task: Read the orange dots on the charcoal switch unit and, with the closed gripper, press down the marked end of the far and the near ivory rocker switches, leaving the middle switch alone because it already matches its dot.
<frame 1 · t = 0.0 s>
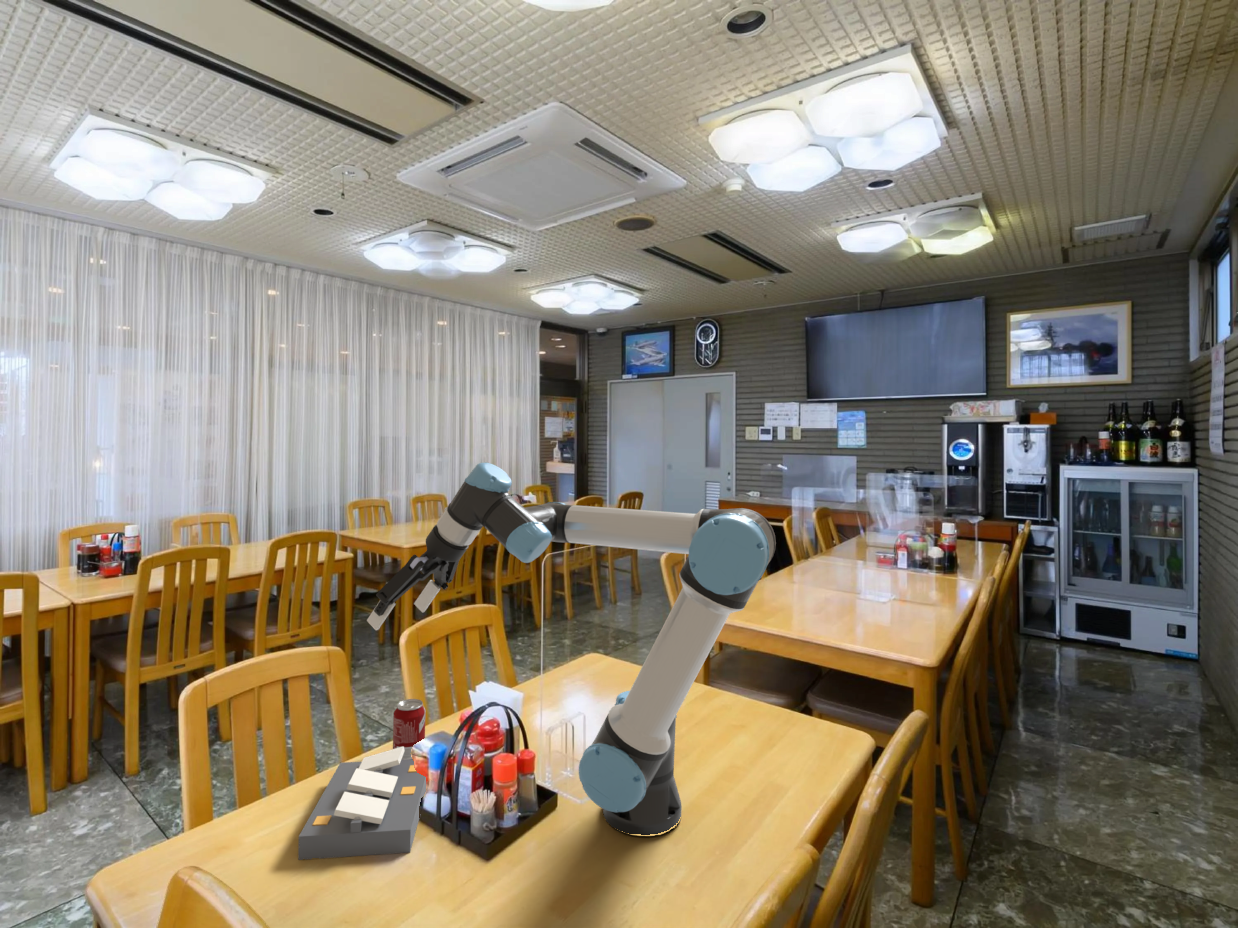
hand: (396, 616, 122), 36 cm above the table, tool tilted 35°, fingers open, 13 cm apart
middle switch: (372, 784, 117), point 6 cm above the table, hinge at -15.0°
far switch: (381, 762, 124), point 6 cm above the table, hinge at 15.0°
soda can: (408, 757, 138), on the table
switch unit: (371, 813, 117), on the table
near switch: (361, 809, 109), point 6 cm above the table, hinge at -15.0°
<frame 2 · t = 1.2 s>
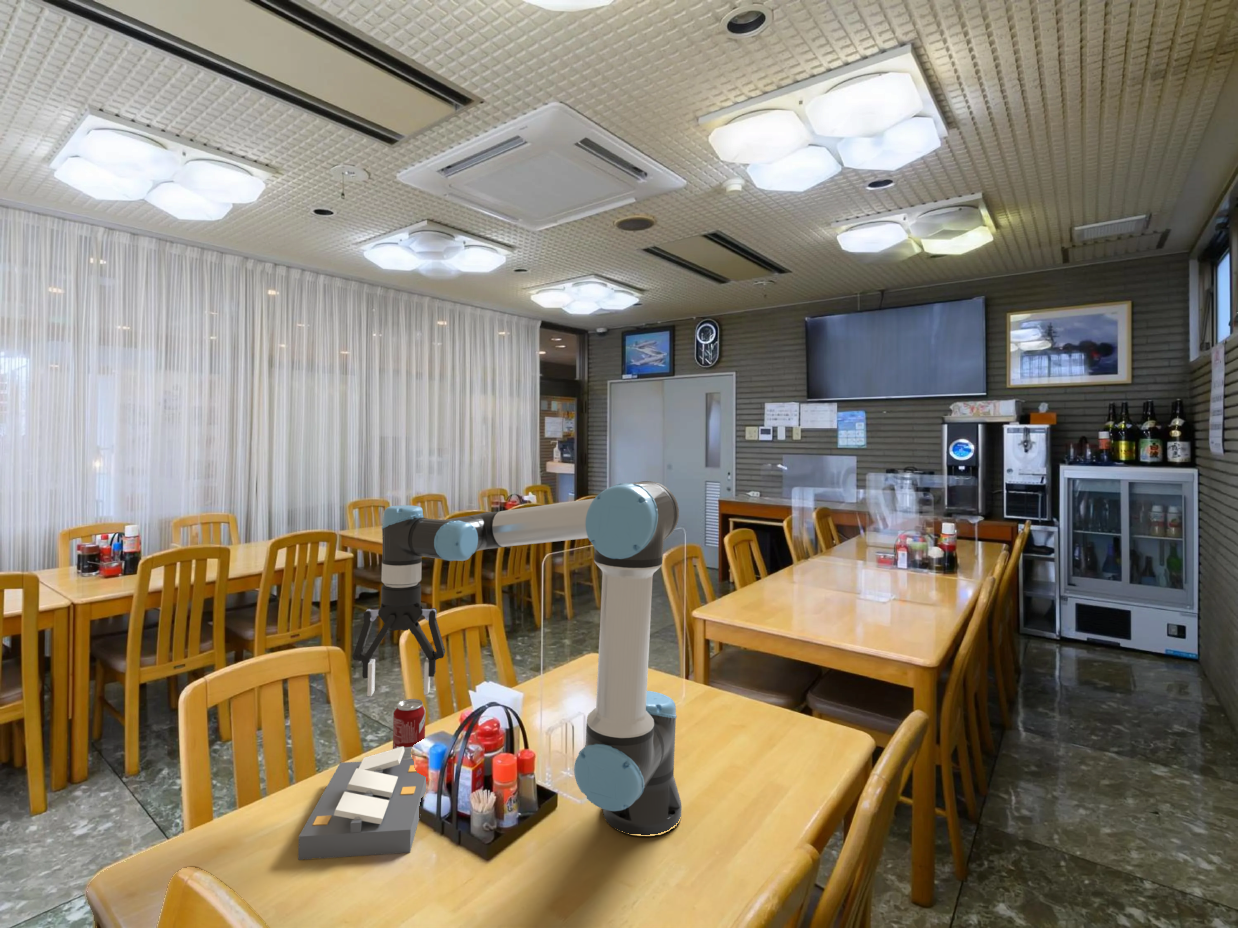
hand: (399, 692, 124), 20 cm above the table, tool pointing down, fingers open, 10 cm apart
nothing on the table moved.
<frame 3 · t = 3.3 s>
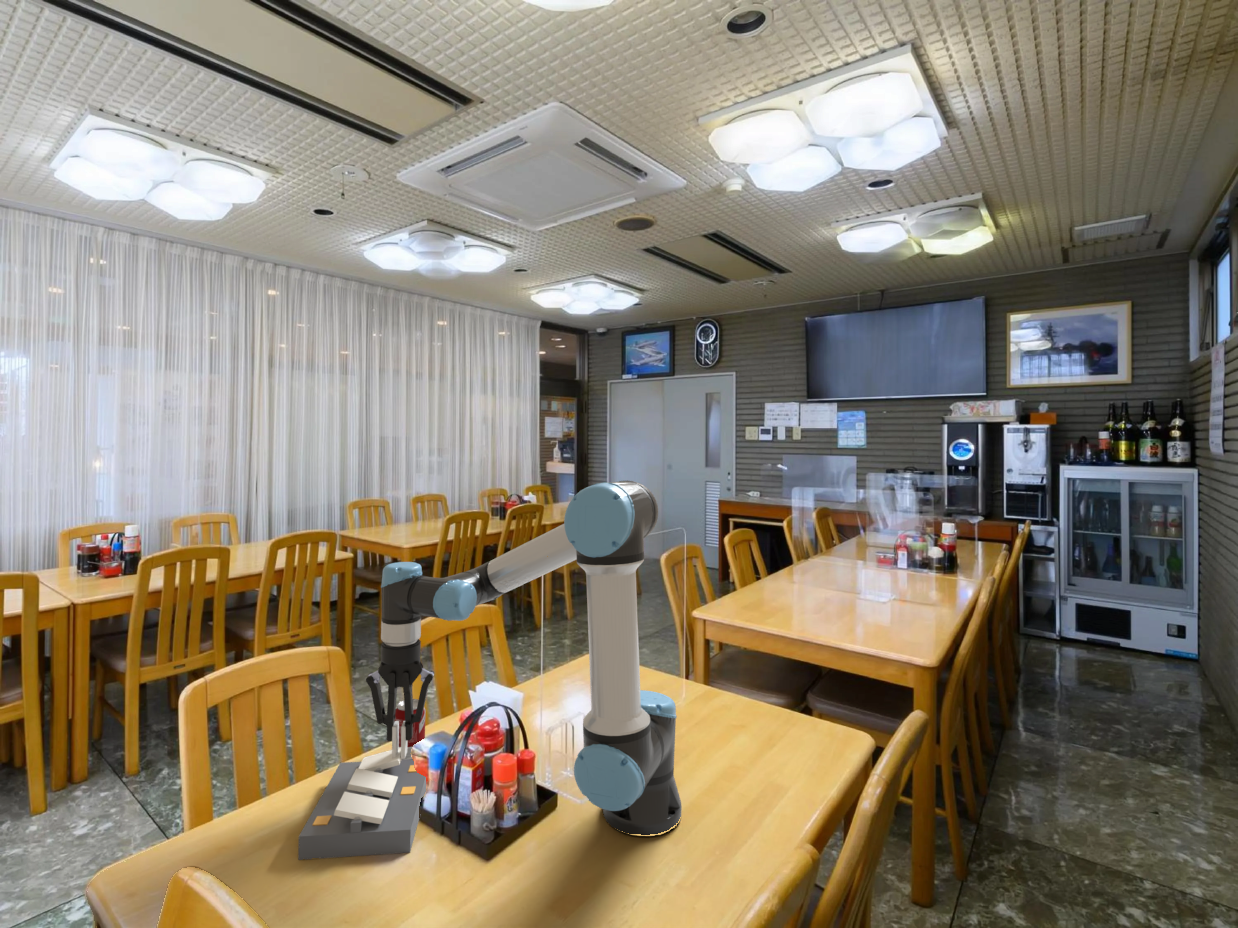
hand: (399, 755, 125), 7 cm above the table, tool pointing down, fingers closed, pressing on far switch
far switch: (381, 762, 124), point 6 cm above the table, hinge at 13.9°, touching gripper
everything else where it was.
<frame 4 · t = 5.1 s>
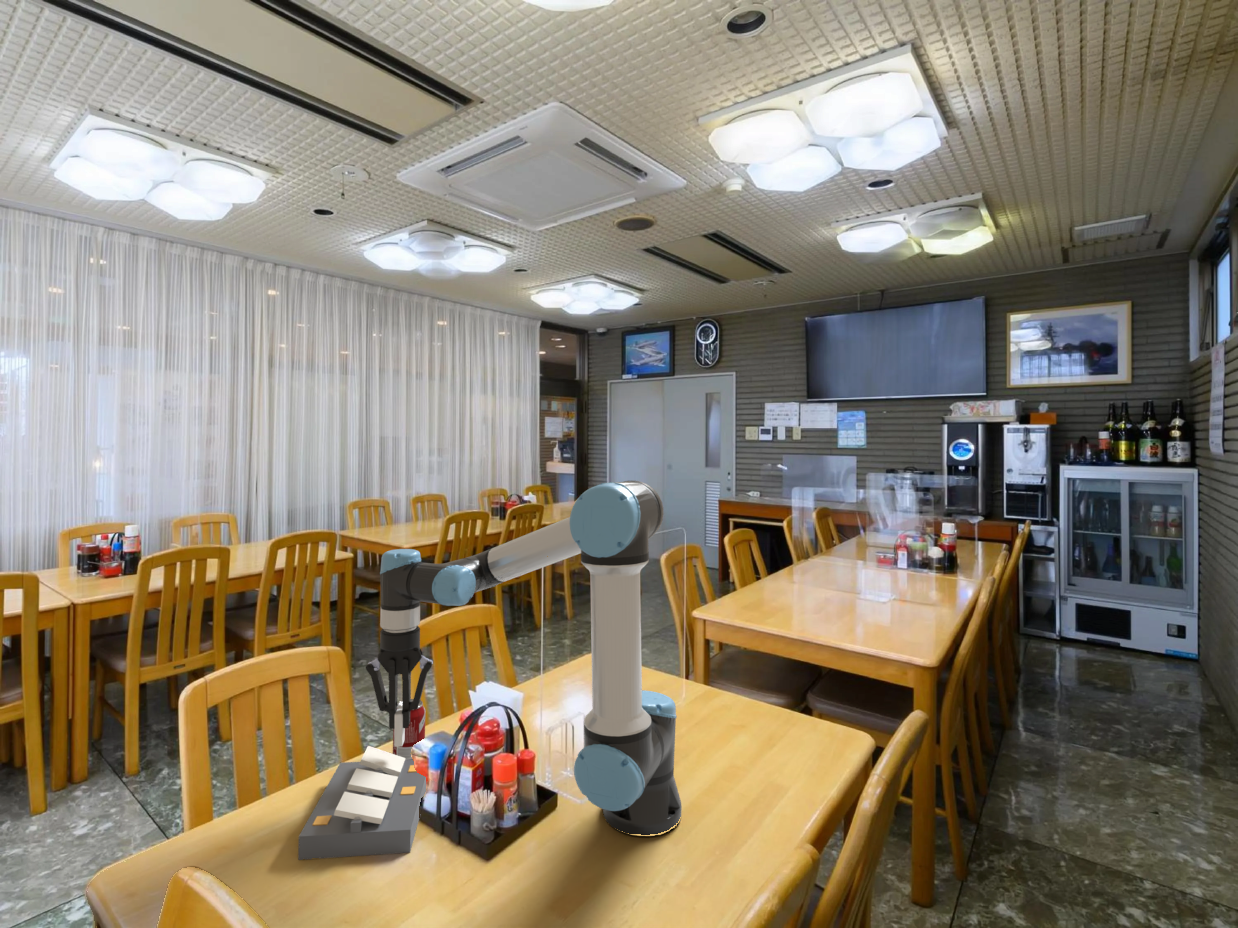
hand: (399, 743, 125), 10 cm above the table, tool pointing down, fingers closed
far switch: (382, 762, 124), point 6 cm above the table, hinge at -21.8°
everything else where it was.
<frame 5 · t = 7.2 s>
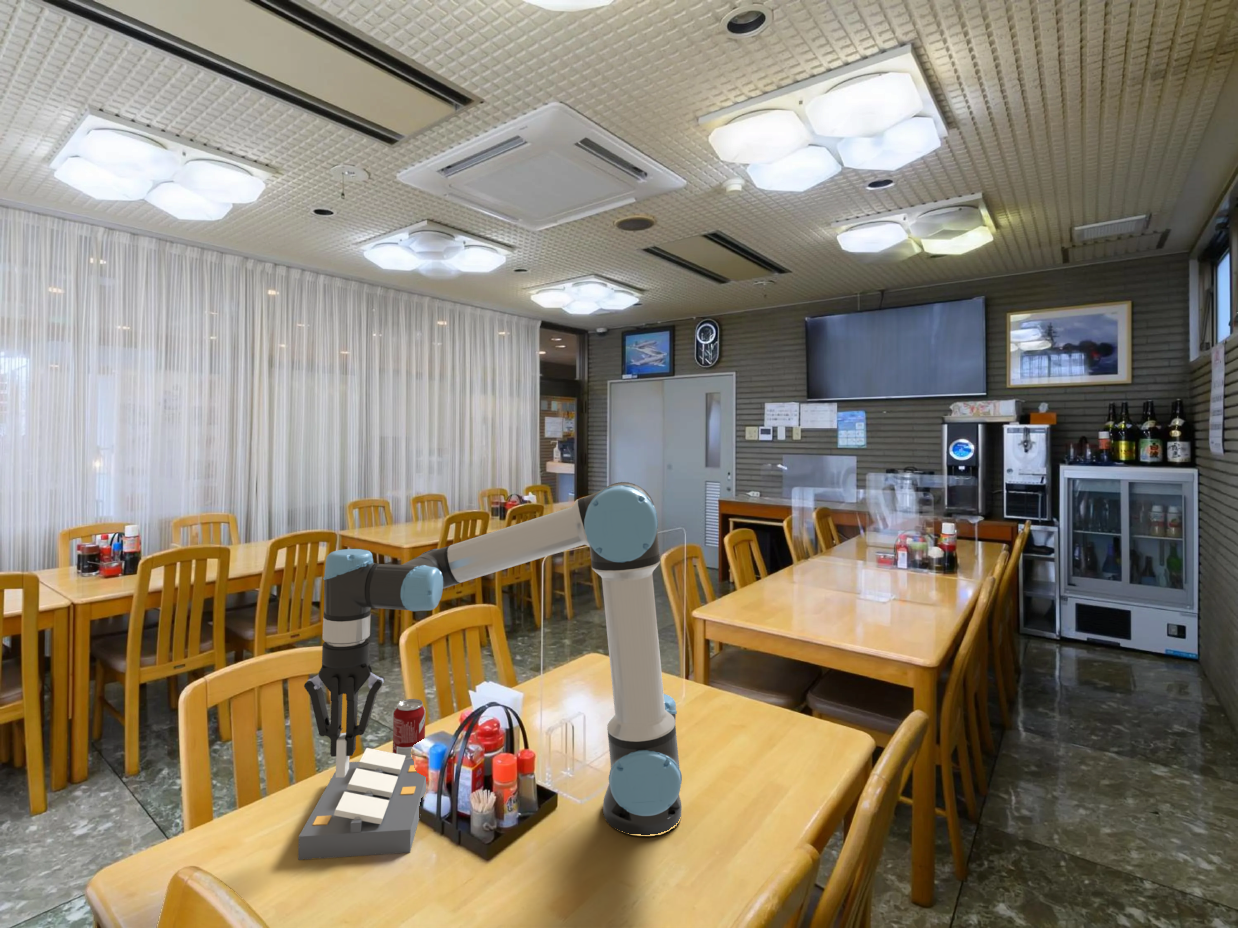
hand: (342, 772, 108), 12 cm above the table, tool pointing down, fingers closed
far switch: (382, 762, 124), point 6 cm above the table, hinge at -14.3°
everything else where it was.
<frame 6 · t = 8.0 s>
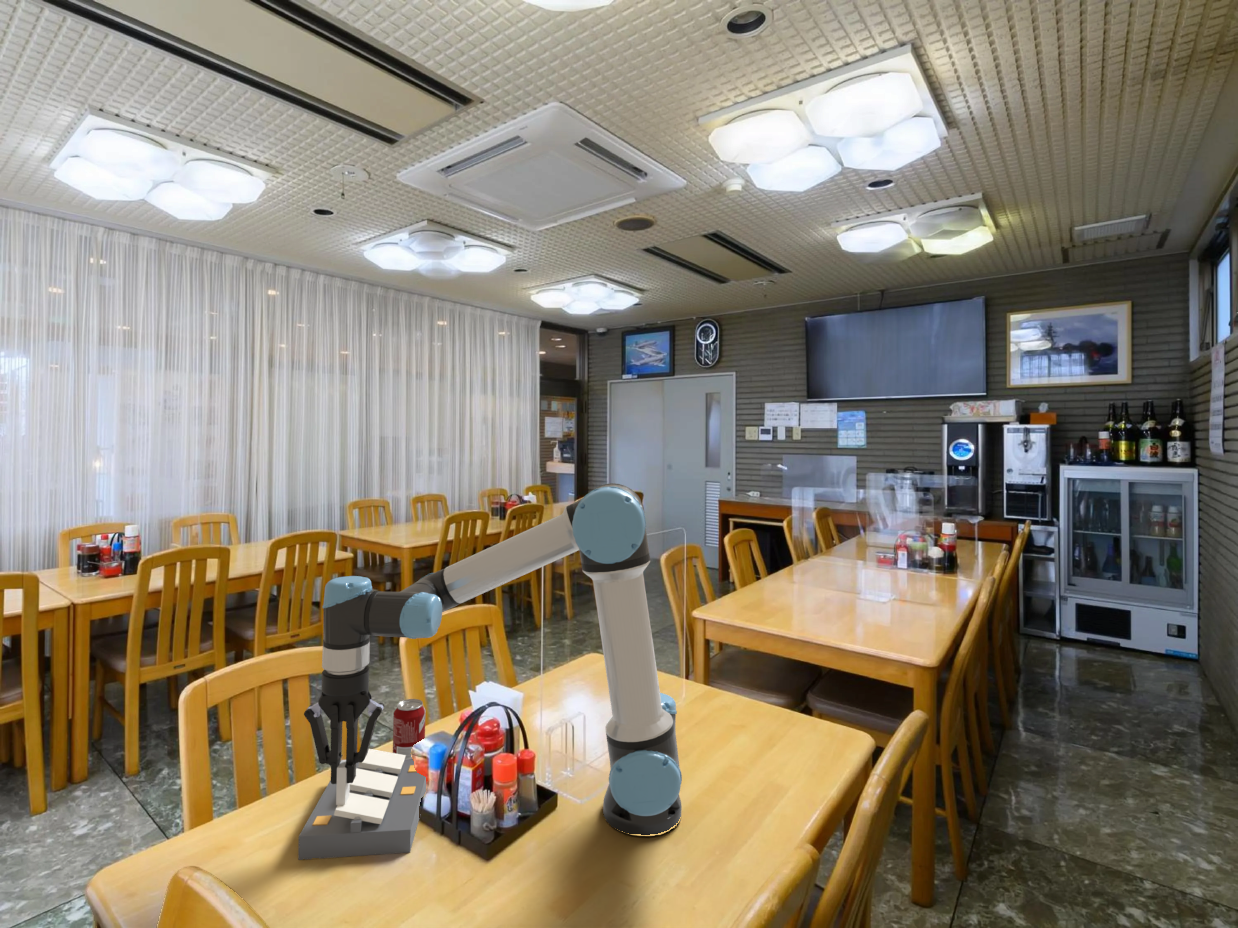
hand: (342, 799, 108), 8 cm above the table, tool pointing down, fingers closed
far switch: (382, 762, 124), point 6 cm above the table, hinge at -13.3°
near switch: (361, 809, 109), point 6 cm above the table, hinge at -14.9°, touching gripper
everything else where it was.
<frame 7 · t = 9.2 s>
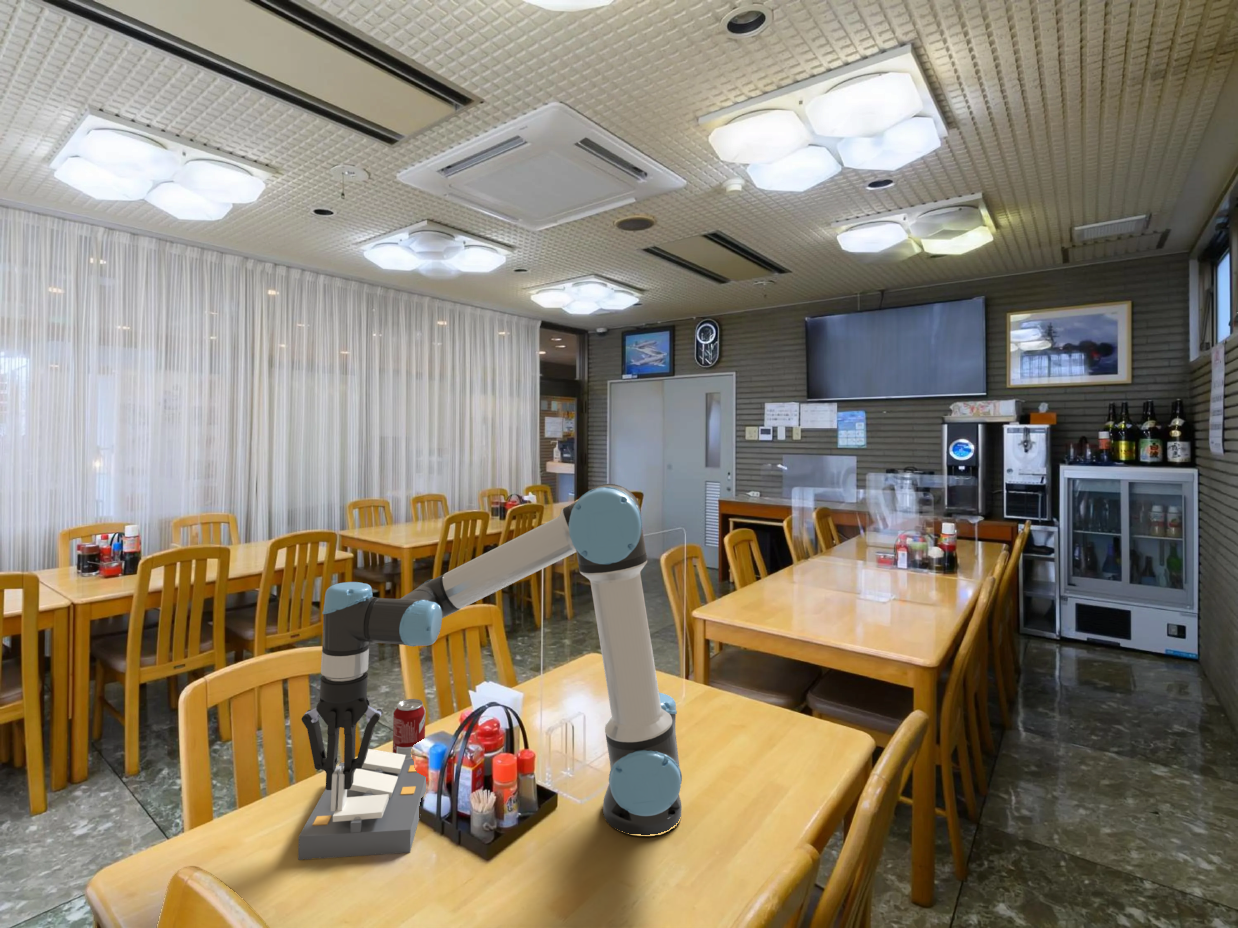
hand: (338, 806, 108), 6 cm above the table, tool pointing down, fingers closed, pressing on near switch
far switch: (382, 762, 124), point 6 cm above the table, hinge at -12.4°
near switch: (361, 809, 109), point 6 cm above the table, hinge at 1.6°, touching gripper
everything else where it was.
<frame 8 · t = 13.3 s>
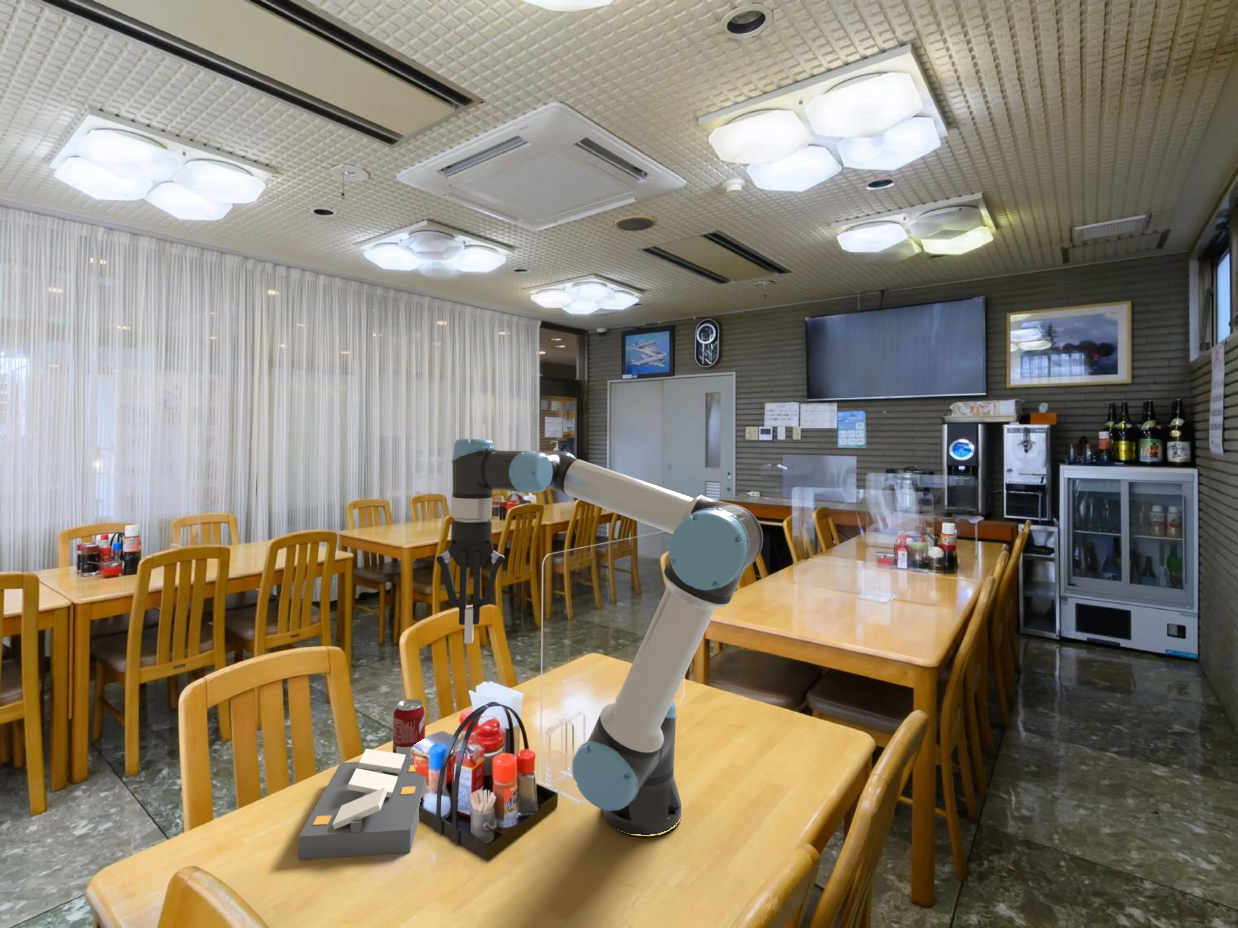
hand: (468, 640, 119), 32 cm above the table, tool pointing down, fingers closed
far switch: (382, 762, 124), point 6 cm above the table, hinge at -11.8°
near switch: (361, 809, 109), point 6 cm above the table, hinge at 21.9°
everything else where it was.
at the end: far switch at -12° (first picture: +15°); middle switch at -15° (first picture: -15°); near switch at +22° (first picture: -15°) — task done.
